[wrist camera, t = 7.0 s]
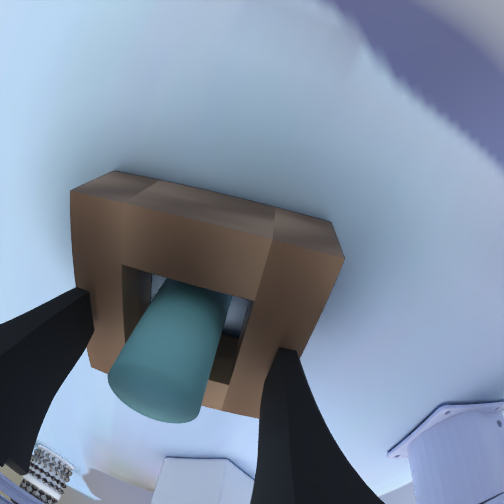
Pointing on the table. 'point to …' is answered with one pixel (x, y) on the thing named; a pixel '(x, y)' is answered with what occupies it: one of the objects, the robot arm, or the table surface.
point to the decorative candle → (46, 476)
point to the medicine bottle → (202, 482)
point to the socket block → (202, 271)
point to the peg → (171, 353)
